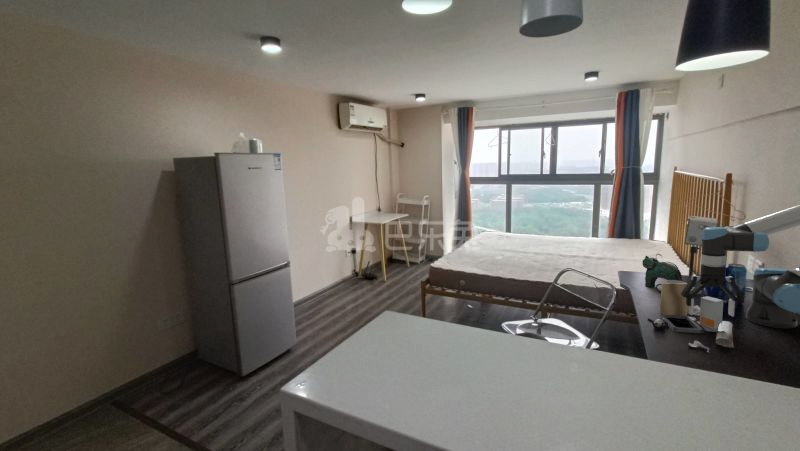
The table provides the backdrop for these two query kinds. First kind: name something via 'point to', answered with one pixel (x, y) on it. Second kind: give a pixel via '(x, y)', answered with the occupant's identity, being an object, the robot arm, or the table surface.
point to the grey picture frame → (676, 329)
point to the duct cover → (673, 299)
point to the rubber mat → (707, 328)
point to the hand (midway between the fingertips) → (710, 314)
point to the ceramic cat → (659, 271)
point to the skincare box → (711, 312)
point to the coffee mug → (670, 282)
